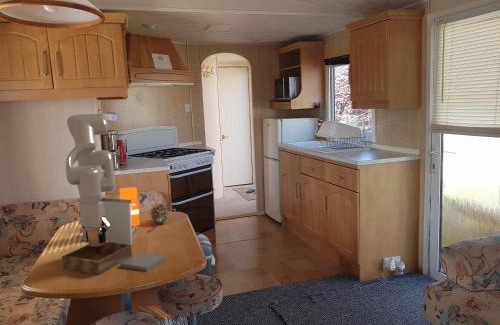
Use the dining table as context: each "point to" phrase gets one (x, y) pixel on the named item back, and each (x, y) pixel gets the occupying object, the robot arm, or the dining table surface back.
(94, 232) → the terracotta pot
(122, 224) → the frame lid
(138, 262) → the slate tile
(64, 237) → the dining table surface
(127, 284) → the dining table surface
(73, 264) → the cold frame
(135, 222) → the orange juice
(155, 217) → the pine cone
